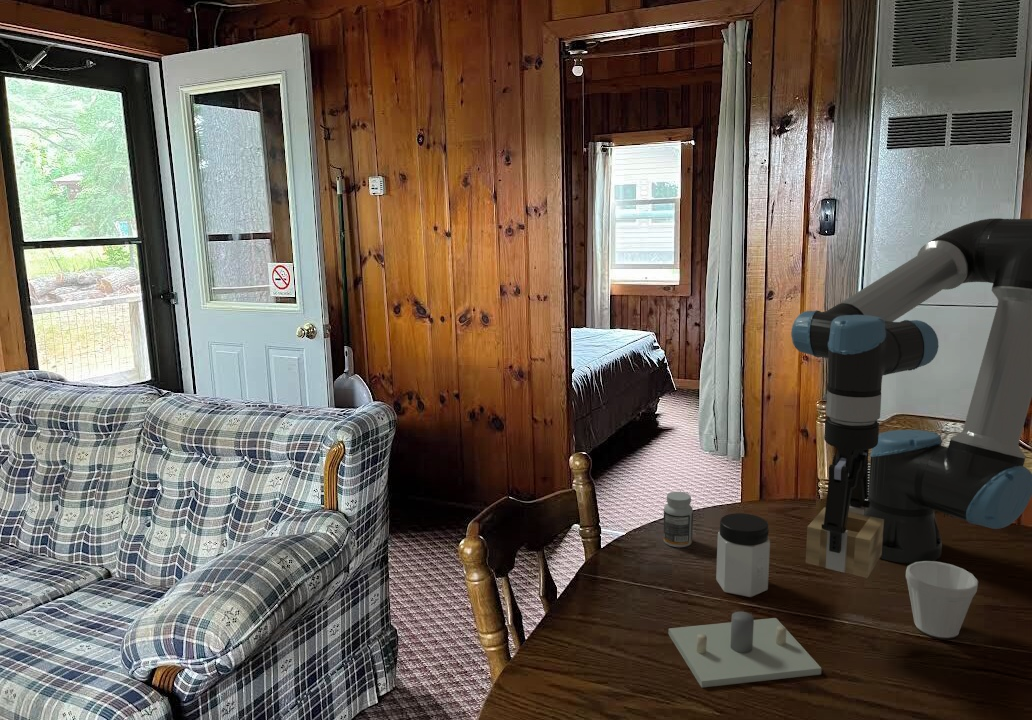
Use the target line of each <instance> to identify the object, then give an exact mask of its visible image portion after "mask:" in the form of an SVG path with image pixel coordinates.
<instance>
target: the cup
mask: <svg viewBox="0 0 1032 720" xmlns="http://www.w3.org/2000/svg"><path fill="white" fill-rule="evenodd" d="M905 580H906V584H907V589H908V593H909V599H910V604H911V611H912V612H911V613H912V616H913V623H914V625H915V627H916V629H917V630H918V631H920V632H921V633H922V634H924V635H926V636H929V637H932V638H936V639H942V640H949V639H955V638H956V637H958V635H959V633H960V630H961V628H962V626H963V623H964V621H965V619H966V615H967V613H968V611H969V608H970V605H971V603H972V600H973V598H974V597H975V596H976V593H977V591H978V585H979V580H978V579H977V578H976V577H975V576H974V574H973V573H971V571H967V570H966V569H965V568H962V567H959V566H957V565H954V564H952V563H951V564H950V563H946V562H941V561H921V562H915V563H913V564H909V565H907V566H906V570H905Z"/></svg>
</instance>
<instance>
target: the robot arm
mask: <svg viewBox="0 0 1032 720" xmlns="http://www.w3.org/2000/svg"><path fill="white" fill-rule="evenodd" d="M966 283H988V284H989V283H990V284H992V287H991V292H992V293H993V294H994V296H995V297H996V298H997V301H998V302H997V305H996V310H995V312H994V317H993V320H992V324H991V327H990V331H989V333H988V338H987V342H986V345H985V349H984V353H983V357H982V360H981V364H980V367H979V371H978V375H977V379H976V383H975V385H974V389H973V393H972V396H971V399H970V400H971V401H970V404H969V407H968V410H967V415H966V418H965V421H964V426H963V429H962V431H961V432H959V433H957V434H956V435H953V436H952V437H950V440H949V442H948V443H949V444H948V446H944V445H942V443H943V440H942V436H941V435H940V434H938V433H936V432H934V431H929V430H922V429H921V430H919V429H895V430H887V431H884V432H881V433H880V423H879V422H878V420H879V419H880V418H881V408H882V384H883V376H886V375H891V374H896V373H900V372H905V371H908V372H909V371H912V370H913V371H914V370H916V369H919V368H921V367H924V366H926V365H928V364H930V363H931V362H932V361H933V360H934V359H935V358H936V356H937V355H938V352H939V347H940V346H939V338H938V335H937V333H936V331H935V329H934V328H933V327H932V326H931V325H930V324H928V323H927V322H925V321H923V320H916V319H915V320H909V319H904V320H901V321H896V320H898V319H900V318H901V317H902V316H904V315H905V314H908V312H910V311H911V310H913V309H915V308H916V307H918V306H920V305H921V304H923V303H924V302H925V301H927V300H928V299H930V298H931V297H933V296H935V295H936V294H938V293H939V292H941V291H943V290H945V291H946V290H953V289H956V288H958V287H960V286H961V285H962V284H966ZM790 335H791V336H790V337H791V341H792V344H793V346H794V348H795V349H796V350H797V351H798V352H801V353H803V354H806V355H811V356H813V357H815V358H823V359H828V360H827V362H828V363H827V365H828V366H827V383H826V393H824V394H823V396H822V399H823V401H826V404H825V414H826V416H827V417H826V418H825V420H824V436H823V439H824V441H825V442H826V444H828V445H829V446H832V447H834V448H835V449H836V455H834V456H833V458H832V463H830V464H829V466H828V484H827V492H826V493H827V494H826V500H825V501H826V503H825V507H826V510H825V518H824V525H823V524H822V529H824V530H827V550H826V568H825V569H828V570H832V571H837V572H839V573H840V572H841V573H845V570H846V552H847V536H848V531H847V530H846V524H847V518H848V512H850V513H855V514H860V515H865V516H870V517H875V518H880V519H884V527H883V541H882V555H881V557H880V558H879V559H882V560H885V561H889V562H893V563H901V564H909V565H911V564H913V563H915V562H921V561H934V562H936V560H938V559H940V557H941V556H942V547H943V542H942V538H941V533H940V531H939V526H938V523H937V519H936V515H935V511H937V512H940V513H943V514H947V515H949V516H952V517H955V518H958V519H961V520H964V521H966V522H968V523H970V524H972V525H979V526H983V527H986V528H989V529H994V530H997V529H998V530H999V529H1002V528H1006V527H1008V526H1010V525H1011V524H1013V523H1014V522H1015V521H1016V520H1017V519H1018V518H1019V517H1020V516H1022V514H1023V512H1024V511H1025V509H1026V508H1027V506H1028V504H1029V503H1030V501H1031V498H1032V472H1031V471H1030V469H1028V468H1027V467H1026V466H1024V464H1025V461H1026V455H1025V453H1024V452H1023V450H1022V448H1020V446H1019V445H1020V440H1021V438H1022V437H1021V436H1022V433H1023V428H1024V426H1025V422H1026V419H1027V415H1028V411H1029V409H1030V408H1029V407H1030V404H1031V401H1032V218H999V217H997V218H984V219H981V220H980V219H979V220H976V221H973V222H970V223H967V224H963V225H960V226H958V227H955V228H953V229H952V230H949V231H947V232H944V233H942V234H940V235H939V236H937V237H935V238H933V239H932V240H930V241H928V242H927V243H925V244H924V245H922V246H921V248H919V250H918V252H917V255H916V256H914V257H912V258H911V259H909V260H907V261H906V262H905V263H903V264H901V265H900V266H898V267H897V268H894V270H892V271H890V272H888V273H887V274H885V275H884V276H881V277H880V278H879V279H876V280H875V281H873V282H872V283H871V284H869V285H867V286H866V287H864V288H862V289H860V290H859V291H858V292H856V293H854V294H852V295H850V296H849V297H848V298H846V299H844V300H843V301H841V302H840V303H838V304H836V305H835V306H833V307H831V308H829V309H828V310H826V311H821V310H817V309H816V310H806V311H803V312H802V313H800V314H798V316H797V317H796V318H795V320H794V321H793V324H792V327H791V332H790ZM869 451H870V454H869ZM869 456H870V461H869ZM869 463H870V464H869ZM869 465H870V467H869Z"/></svg>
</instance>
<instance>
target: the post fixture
mask: <svg viewBox="0 0 1032 720" xmlns="http://www.w3.org/2000/svg"><path fill="white" fill-rule="evenodd" d="M668 636H669V638H670V639H671V641H672V642H673V644H674V646H675V647H676V649H677V650H678V652H679V654H680V655H681V657H682V658H683V660H684V662H685V663H686V665H687V666H688V669H690V671H691V673H692V675H693V677H695V679H696V681H697V684H699V686H700V687H701V688H708V687H709V688H710V687H718V686H719V687H720V686H727V685H728V686H729V685H737V684H748V683H755V682H764V681H772V680H774V681H775V680H781V679H791V678H800V677H801V678H803V677H808V676H809V677H810V676H820V675H822V667H821V666H820V665H819V663H818V662H816V660H815V659H814V658H813V657H812V655H810V654H809V652H808V651H806V649H805V648H804V647H803V646H802V645H801V643H799V642H798V641H797V639H796V638H795V637H794V636H793V635H792V634H791V633H790V631H788V629H787V627H785V626H784V625H783V624H782V623H781V622H780V621H779V619H778V618H777V617H772V618H771V617H770V618H761V619H754V616H753V615H752V614H751V613H749V612H746V611H735V612H733V613H732V614H731V621H730V622H722V623H721V622H719V623H711V624H701V625H699V624H698V625H690V626H681V627H672V628H671V627H670V628H668Z"/></svg>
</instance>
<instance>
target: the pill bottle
mask: <svg viewBox="0 0 1032 720" xmlns="http://www.w3.org/2000/svg"><path fill="white" fill-rule="evenodd" d="M691 496H692V495H690V494H689V493H687V492H684V491H671V492H669V493H667V494H666V502H667V503H666V504H665V506H664V508H663V519H662V520H663V525H662V526H663V531H662V532H663V534H662V538H663V542H664V543H665V544H666V545H667V546H670V547H675V548H685V547H689V546H690V545H691V544H692V543H693V534H694V533H693V527H694V526H693V525H694V509H693V506H691V505H690V504H691V502H692V498H691Z"/></svg>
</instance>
